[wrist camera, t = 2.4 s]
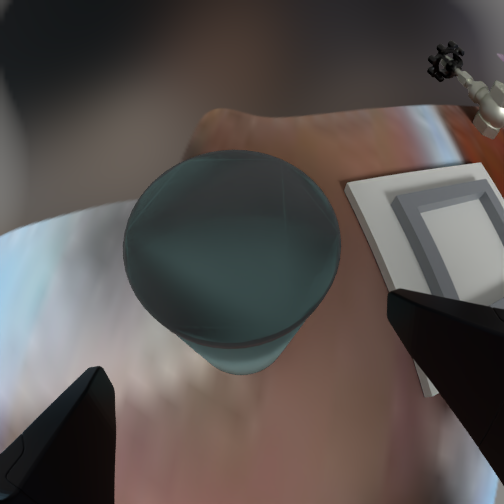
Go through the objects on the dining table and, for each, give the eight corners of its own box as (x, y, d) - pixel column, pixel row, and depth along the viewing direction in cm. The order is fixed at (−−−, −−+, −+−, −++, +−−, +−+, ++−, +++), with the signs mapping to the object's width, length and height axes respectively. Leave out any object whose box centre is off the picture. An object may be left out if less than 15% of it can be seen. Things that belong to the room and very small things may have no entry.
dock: (546, 314, 19) (561, 306, 17) (424, 397, 17) (442, 395, 15) (476, 168, 25) (486, 155, 23) (343, 190, 23) (351, 172, 21)
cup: (299, 361, 18) (373, 306, 7) (206, 385, 17) (138, 368, 6) (273, 276, 20) (298, 136, 9) (186, 297, 20) (119, 175, 9)
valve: (505, 139, 28) (450, 78, 33) (529, 104, 22) (465, 43, 27) (480, 143, 27) (420, 77, 32) (506, 103, 21) (435, 37, 26)
